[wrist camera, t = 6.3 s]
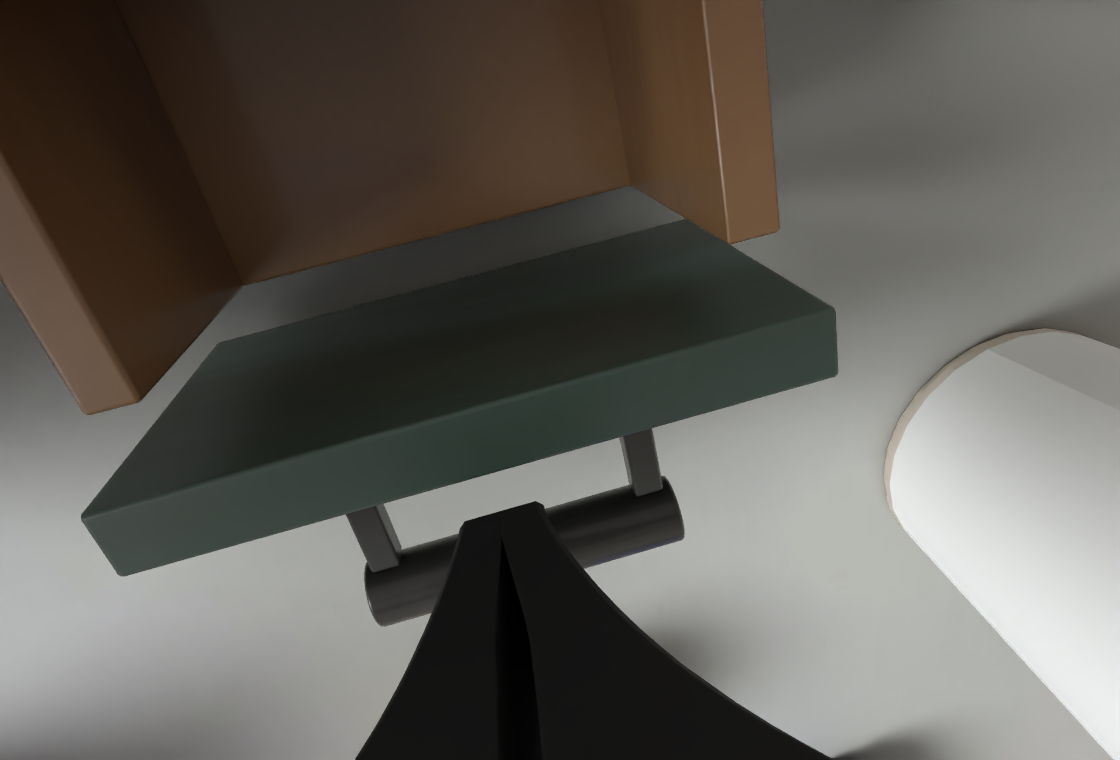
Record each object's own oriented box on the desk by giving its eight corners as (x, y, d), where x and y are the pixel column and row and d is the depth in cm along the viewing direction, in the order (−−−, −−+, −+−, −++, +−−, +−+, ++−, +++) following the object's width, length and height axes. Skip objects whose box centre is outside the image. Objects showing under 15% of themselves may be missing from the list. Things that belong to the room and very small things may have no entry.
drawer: (713, 412, 19) (848, 579, 13) (307, 527, 18) (240, 760, 12) (597, -448, 11) (787, -1058, 5) (-99, -303, 11) (-819, -801, 5)
